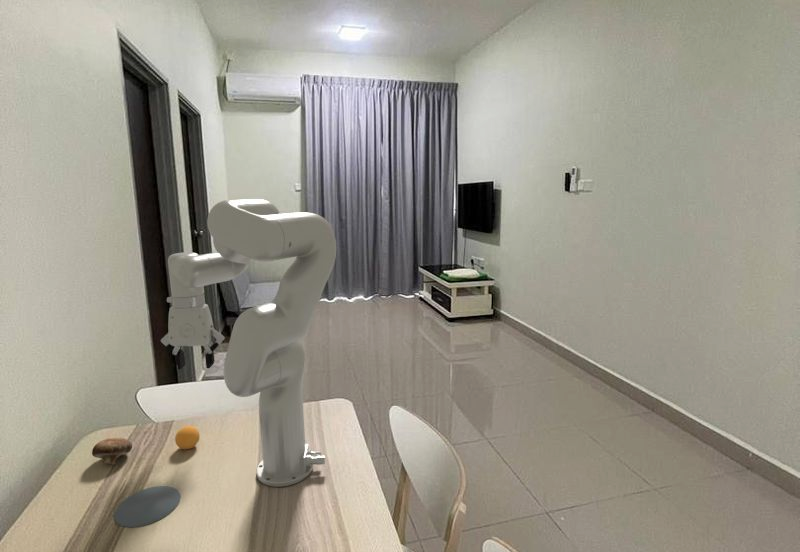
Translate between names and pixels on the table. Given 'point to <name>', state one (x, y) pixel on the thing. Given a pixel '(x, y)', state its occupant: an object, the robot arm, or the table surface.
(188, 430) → the ball
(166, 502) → the disc
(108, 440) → the mushroom
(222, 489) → the table surface
